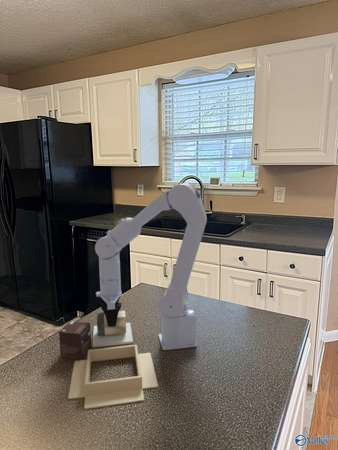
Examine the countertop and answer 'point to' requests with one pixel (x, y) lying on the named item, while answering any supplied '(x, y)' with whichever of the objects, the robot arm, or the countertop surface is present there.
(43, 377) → the countertop surface
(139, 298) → the countertop surface
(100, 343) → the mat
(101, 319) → the block
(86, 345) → the box
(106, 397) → the carton
